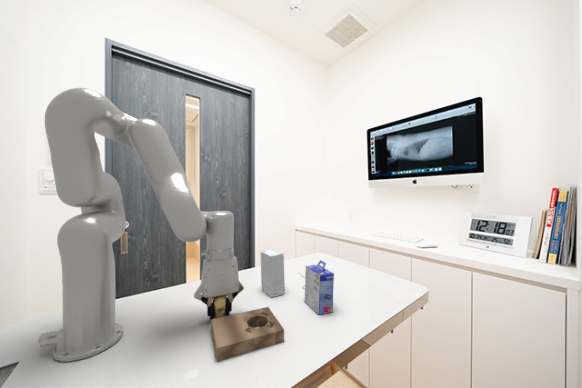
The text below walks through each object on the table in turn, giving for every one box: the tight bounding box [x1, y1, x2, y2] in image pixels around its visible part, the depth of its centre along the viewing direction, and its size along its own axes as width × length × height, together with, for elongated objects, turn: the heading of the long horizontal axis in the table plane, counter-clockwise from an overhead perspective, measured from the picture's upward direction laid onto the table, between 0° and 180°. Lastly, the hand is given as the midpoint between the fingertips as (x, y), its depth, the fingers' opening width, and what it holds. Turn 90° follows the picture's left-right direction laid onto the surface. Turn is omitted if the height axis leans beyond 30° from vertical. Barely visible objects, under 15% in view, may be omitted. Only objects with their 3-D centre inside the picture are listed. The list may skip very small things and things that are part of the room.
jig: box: [210, 306, 285, 362], centre depth 58 cm, size 16×12×3 cm
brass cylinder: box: [212, 294, 227, 319], centre depth 65 cm, size 4×4×7 cm
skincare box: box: [260, 248, 286, 298], centre depth 83 cm, size 8×6×15 cm
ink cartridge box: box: [304, 259, 335, 316], centre depth 73 cm, size 10×6×14 cm, turn 24°
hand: (219, 315), depth 65 cm, fingers closed on brass cylinder, 4 cm apart
